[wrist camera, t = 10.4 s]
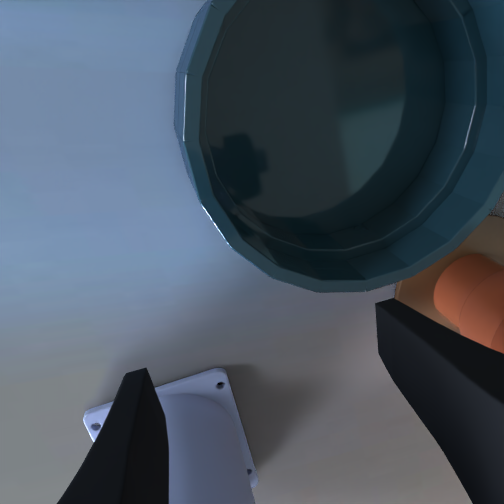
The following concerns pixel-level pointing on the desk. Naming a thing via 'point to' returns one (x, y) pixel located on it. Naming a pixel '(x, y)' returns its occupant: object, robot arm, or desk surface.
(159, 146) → the desk surface
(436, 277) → the coaster
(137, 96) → the desk surface
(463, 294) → the flower pot
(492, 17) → the bowl
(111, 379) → the desk surface
